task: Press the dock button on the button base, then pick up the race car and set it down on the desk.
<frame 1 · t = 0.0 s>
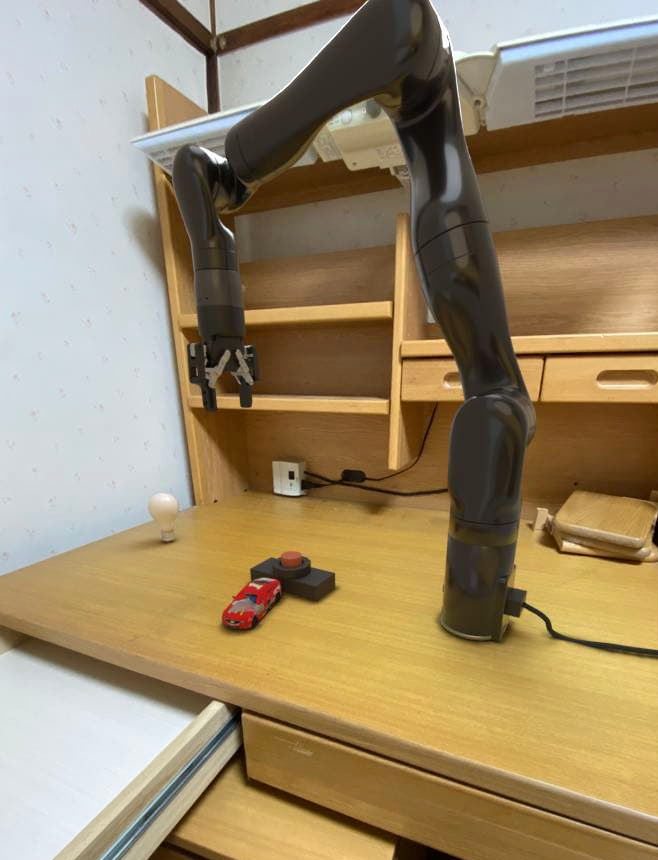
hand: (229, 409, 80), 29 cm above the table, tool pointing down, fingers open, 8 cm apart
dock button: (291, 559, 79), point 5 cm above the table, slide at 0.1 cm
lightbulb: (169, 542, 102), on the table
button base: (292, 585, 81), on the table
race car: (254, 612, 73), on the table
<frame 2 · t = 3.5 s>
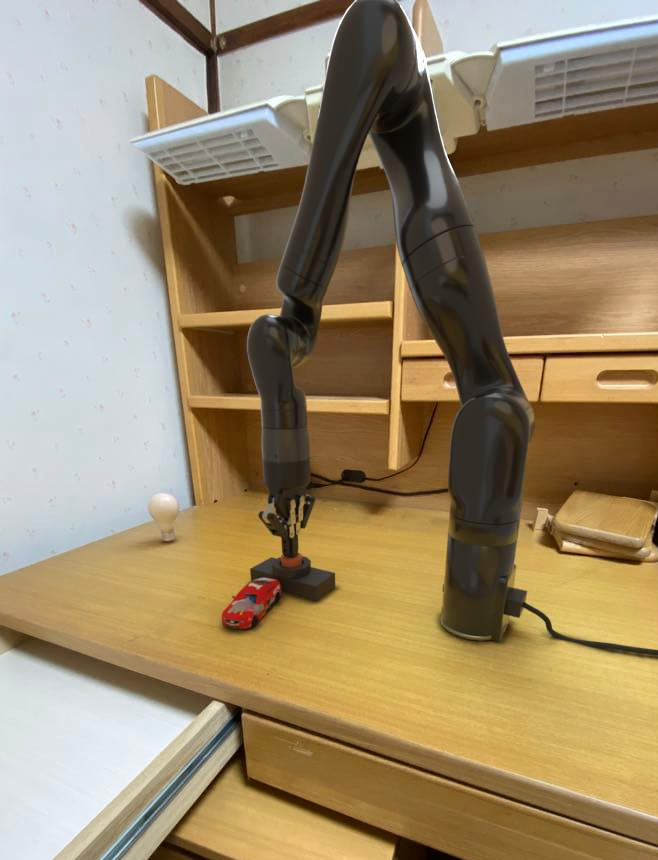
hand: (290, 555, 79), 6 cm above the table, tool pointing down, fingers closed
dock button: (291, 560, 79), point 5 cm above the table, slide at -0.1 cm, touching gripper
everything else where it was.
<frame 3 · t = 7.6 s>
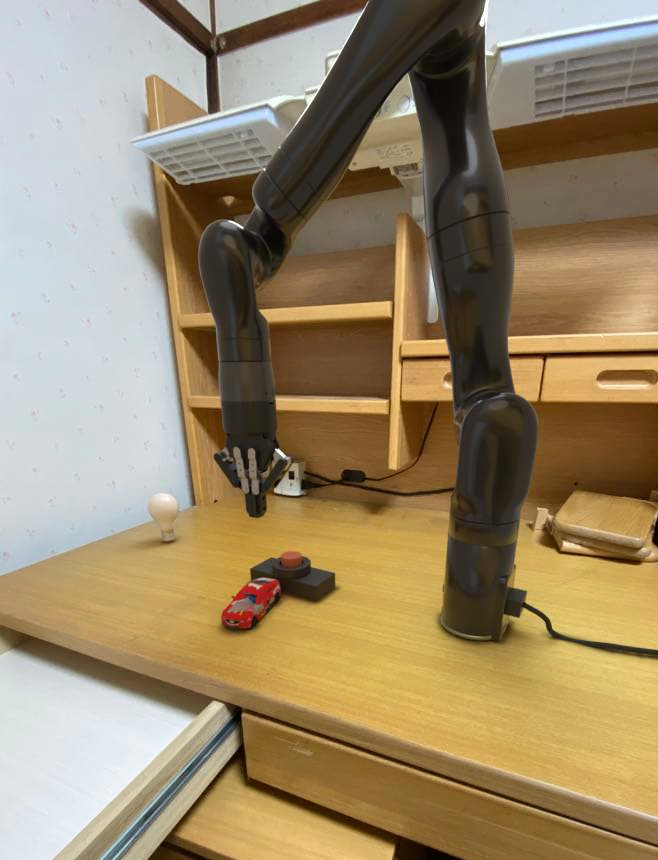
hand: (257, 516, 70), 15 cm above the table, tool pointing down, fingers closed
dock button: (291, 559, 79), point 5 cm above the table, slide at 0.1 cm
everything else where it was.
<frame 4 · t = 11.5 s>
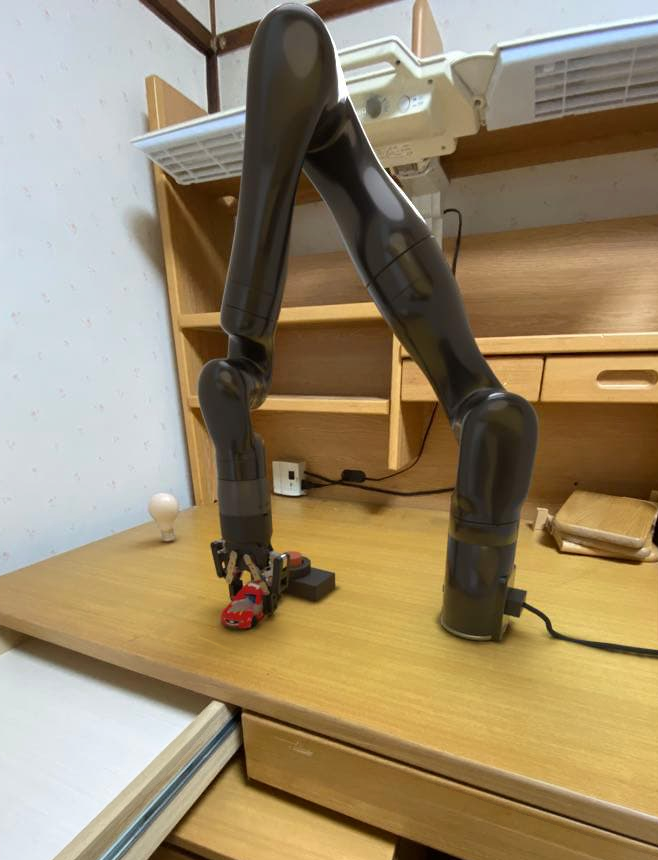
hand: (253, 607, 73), 1 cm above the table, tool pointing down, fingers closed on race car, 6 cm apart
race car: (253, 611, 73), on the table, touching gripper
everything else where it was.
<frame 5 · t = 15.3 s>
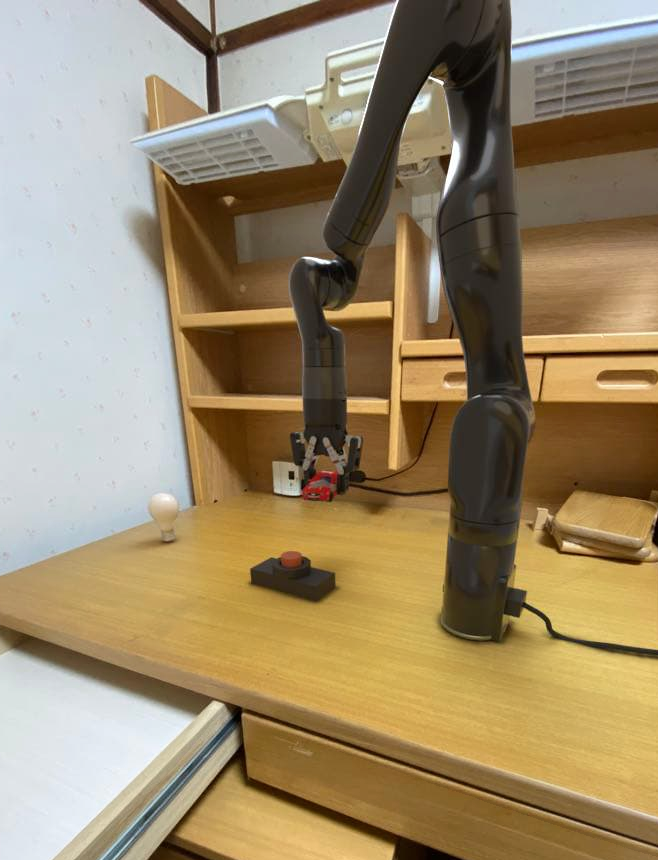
hand: (326, 491, 84), 15 cm above the table, tool pointing down, fingers closed on race car, 6 cm apart
race car: (325, 495, 84), point 14 cm above the table, touching gripper
everything else where it was.
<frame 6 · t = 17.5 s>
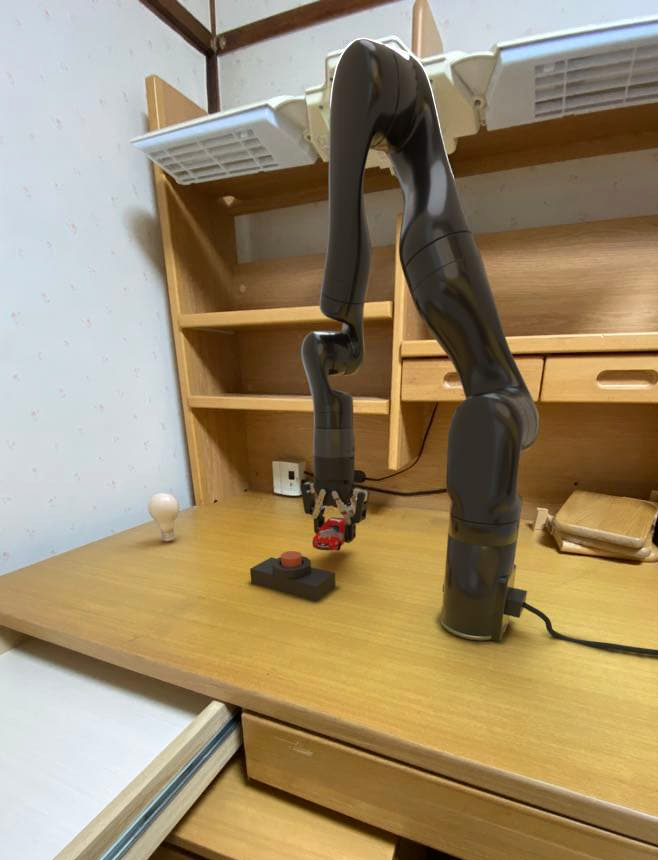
hand: (334, 538, 89), 5 cm above the table, tool pointing down, fingers closed on race car, 6 cm apart
race car: (334, 541, 90), point 4 cm above the table, touching gripper
everything else where it was.
when the fingers open (1 cm above the table, at t = 19.1 s): race car stays where it is, on the table.
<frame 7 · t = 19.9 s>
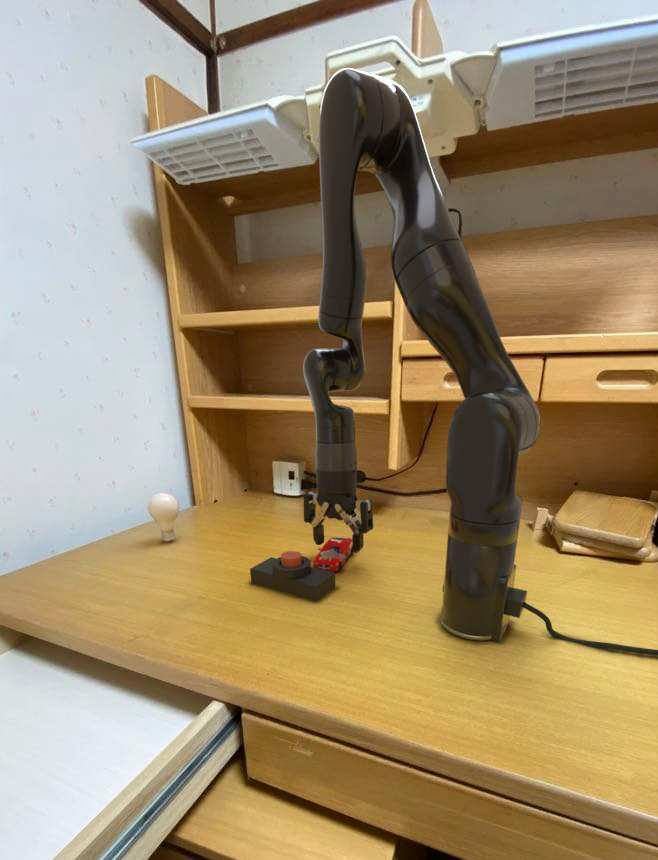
hand: (338, 547, 90), 3 cm above the table, tool pointing down, fingers open, 8 cm apart
race car: (334, 562, 91), on the table
everything else where it was.
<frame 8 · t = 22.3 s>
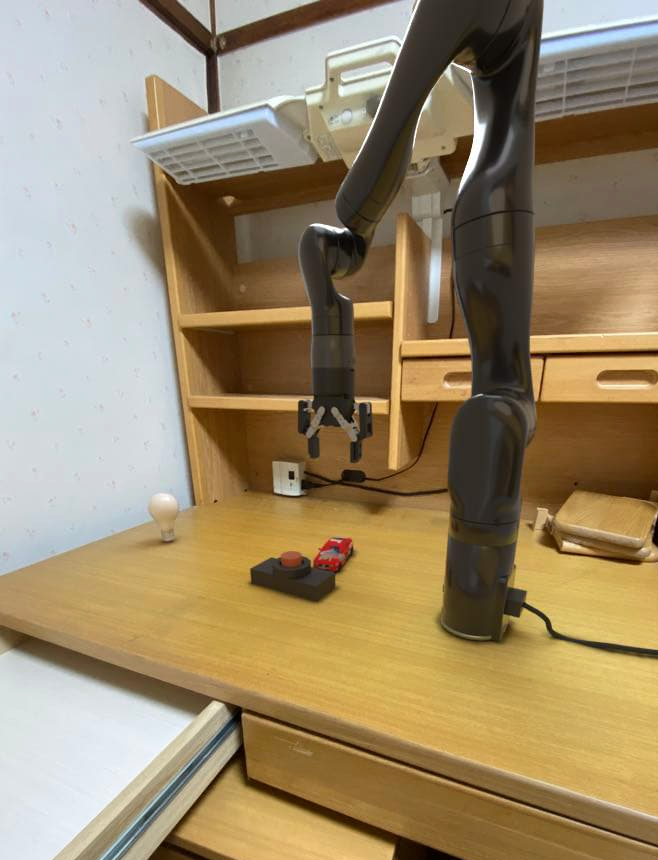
hand: (334, 460, 84), 20 cm above the table, tool pointing down, fingers open, 8 cm apart
nothing on the table moved.
at the end: dock button pushed in 1.0 cm at the most during the clip, back to where it started at the end; race car inside the target area (0.3 cm from its centre), on the table; the gripper is holding nothing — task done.
